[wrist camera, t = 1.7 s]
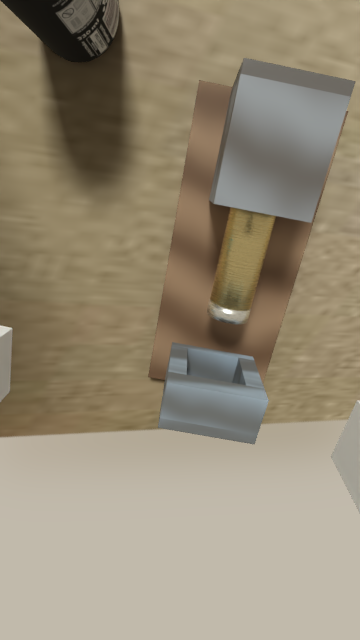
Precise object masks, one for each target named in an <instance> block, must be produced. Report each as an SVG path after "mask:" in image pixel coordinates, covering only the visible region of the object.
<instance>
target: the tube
mask: <svg viewBox="0 0 360 640" xmlns="http://www.w3.org/2000/svg"><path fill="white" fill-rule="evenodd" d="M275 219H276V216H274V215H269V214H264V213H258V212H253V211H248V210H243V209H238V208H233V207H230V212H229V216H228V221H227V225H226V230H225V234H224V238H223V243H222V247H221V252H220V256H219V261H218V265H217V269H216V274H215V278H214V283H213V287H212V292H211V296H210V299H209V304H208V308H207V314H208V315H209V316H210V317H212V318H214V319H216V320H218V321H221V322H225V323H229V324H245V323H247V322H248V318H249V314H250V311H251V306H252V303H253V299H254V295H255V292H256V288H257V284H258V281H259V277H260V273H261V270H262V266H263V262H264V259H265V255H266V251H267V248H268V244H269V240H270V237H271V233H272V230H273V226H274V222H275Z"/></svg>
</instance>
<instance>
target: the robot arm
mask: <svg viewBox="0 0 360 640" xmlns="http://www.w3.org/2000/svg"><path fill="white" fill-rule="evenodd" d="M12 329H13V328H10V327H5V326H0V402H1V401H2V400H3V398H4V397H5V396H6V395H7V394H8V393H9V392H10V376H11V352H12ZM331 458H332V460H333V462H334V464H335V465H336V468H337V470H338V471H339V473H340V475H341V477H342V479H343V481H344V483H345V485H346V487H347V489H348V491H349V493H350V495H351V497H352V499H353V501H354V503H355V505H356V507H357V509H358V510H359V512H360V401H358V400H357V402H356V404H355V406H354V408H353V410H352V412H351V415H350V417H349V419H348V421H347V423H346V425H345V427H344V430H343V432H342V434H341V436H340V438H339V441H338V442H337V445H336V447H335V449H334V451H333V453H332V455H331Z"/></svg>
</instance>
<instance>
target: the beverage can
mask: <svg viewBox="0 0 360 640" xmlns="http://www.w3.org/2000/svg"><path fill="white" fill-rule="evenodd" d="M1 1H2V2H3V3H4V4H5V5H6V6H7V7H8V8H9V9H10V10H11V11H12V12H13V13H14V14H15V15H16V16H17V17H18V18H19V19H20V20H21V21H22V22H23V23H24V24H25V25H26V26H27V27H28V28H29V29H31V30H32V31H33V32H34V33H35V34H36V35H37V36H38V37H39V38H40V39H41V40H42V41H43V42H44V43H45V44H46V45H47V46H48V47H49V48H50V49H51V50H52V51H53V52H55V53H56V54H57V55H59V56H60V57H62V58H64V59H66V60H69V61H73V62H87V61H91V60H93V59H95V58H97V57H99V56H100V55H102V54H103V53H104V52H105V51H106V50H107V49H108V47H109V46H110V44H111V43H112V41H113V39H114V37H115V34H116V31H117V28H118V23H119V2H118V0H1Z"/></svg>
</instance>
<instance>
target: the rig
mask: <svg viewBox="0 0 360 640" xmlns="http://www.w3.org/2000/svg"><path fill="white" fill-rule="evenodd" d="M354 84H355V81H352V80H347V79H342V78H337V77H333V76H328V75H323V74H318V73H314V72H309V71H304V70H299V69H295V68H290V67H285V66H281V65H276V64H271V63H266V62H262V61H257V60H252V59H247V58H244V59H243V62H242V64H241V67H240V69H239V72H238V74H237V77H236V79H235V82H234V85H233V87H229V86H225V85H220V84H215V83H210V82H205V81H201V80H199V85H198V91H197V97H196V103H195V108H194V114H193V120H192V126H191V132H190V137H189V143H188V149H187V155H186V161H185V166H184V172H183V178H182V184H181V190H180V196H179V201H178V207H177V213H176V219H175V225H174V230H173V236H172V242H171V248H170V254H169V259H168V265H167V271H166V277H165V283H164V288H163V294H162V300H161V306H160V312H159V317H158V323H157V329H156V335H155V341H154V346H153V352H152V358H151V364H150V370H149V375H148V377H151V378H157V379H163V380H165V383H164V390H163V397H162V404H161V410H160V417H159V424H158V428H163V429H169V430H175V431H181V432H187V433H192V434H198V435H204V436H210V437H215V438H221V439H227V440H233V441H238V442H244V443H250V444H255V441H256V438H257V435H258V432H259V429H260V426H261V422H262V419H263V416H264V413H265V410H266V407H267V404H268V401H269V400H268V398H267V395H266V392H265V389H264V386H263V381H264V378H265V375H266V372H267V368H268V365H269V362H270V359H271V356H272V353H273V349H274V346H275V343H276V340H277V337H278V333H279V330H280V327H281V324H282V321H283V317H284V314H285V311H286V308H287V305H288V301H289V298H290V295H291V292H292V289H293V286H294V282H295V279H296V276H297V273H298V270H299V266H300V263H301V260H302V257H303V254H304V250H305V247H306V244H307V241H308V238H309V235H310V231H311V228H312V225H313V222H314V219H315V215H316V212H317V209H318V206H319V203H320V199H321V196H322V193H323V190H324V187H325V184H326V180H327V177H328V174H329V171H330V168H331V164H332V161H333V158H334V155H335V152H336V148H337V145H338V142H339V139H340V136H341V132H342V129H343V126H344V123H345V120H346V117H347V113H348V111H346V110H347V107H348V104H349V100H350V97H351V94H352V91H353V88H354ZM230 207H233V208H238V209H243V210H248V211H253V212H258V213H264V214H269V215H274V216H276V219H275V222H274V226H273V230H272V233H271V237H270V240H269V244H268V248H267V251H266V255H265V259H264V262H263V266H262V270H261V273H260V277H259V281H258V284H257V288H256V292H255V295H254V299H253V303H252V306H251V311H250V314H249V318H248V322H247V323H245V324H229V323H225V322H221V321H218V320H216V319H214V318H212V317H210V316H209V315H208V314H207V308H208V304H209V299H210V296H211V292H212V287H213V283H214V278H215V274H216V269H217V265H218V261H219V256H220V252H221V247H222V243H223V238H224V234H225V230H226V225H227V221H228V216H229V212H230Z"/></svg>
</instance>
